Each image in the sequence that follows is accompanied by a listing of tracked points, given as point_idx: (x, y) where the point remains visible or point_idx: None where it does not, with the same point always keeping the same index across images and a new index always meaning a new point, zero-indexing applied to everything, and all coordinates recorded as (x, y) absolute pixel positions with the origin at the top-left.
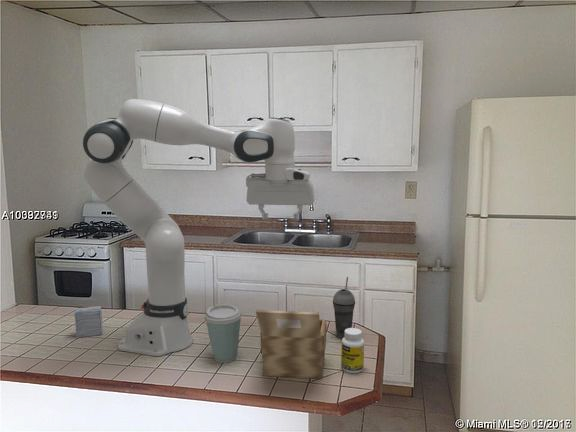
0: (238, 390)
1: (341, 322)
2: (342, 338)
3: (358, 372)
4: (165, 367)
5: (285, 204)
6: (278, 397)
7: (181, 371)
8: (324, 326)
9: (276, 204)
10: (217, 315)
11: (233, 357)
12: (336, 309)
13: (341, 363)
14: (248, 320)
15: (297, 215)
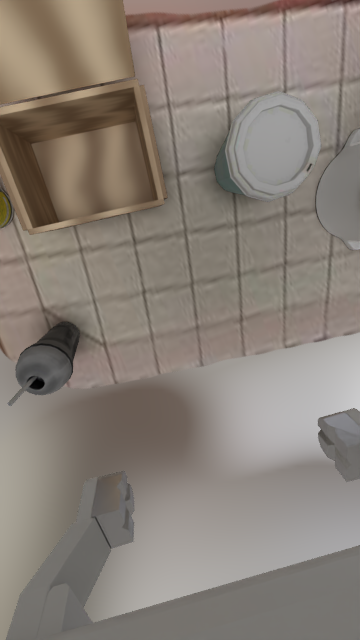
0: (156, 35)
1: (55, 332)
2: (63, 322)
3: None
4: (326, 88)
5: (197, 596)
6: None
7: (291, 82)
8: (8, 187)
9: (312, 561)
10: (283, 123)
11: (216, 159)
12: (58, 343)
13: (5, 196)
14: (253, 336)
15: (84, 509)
